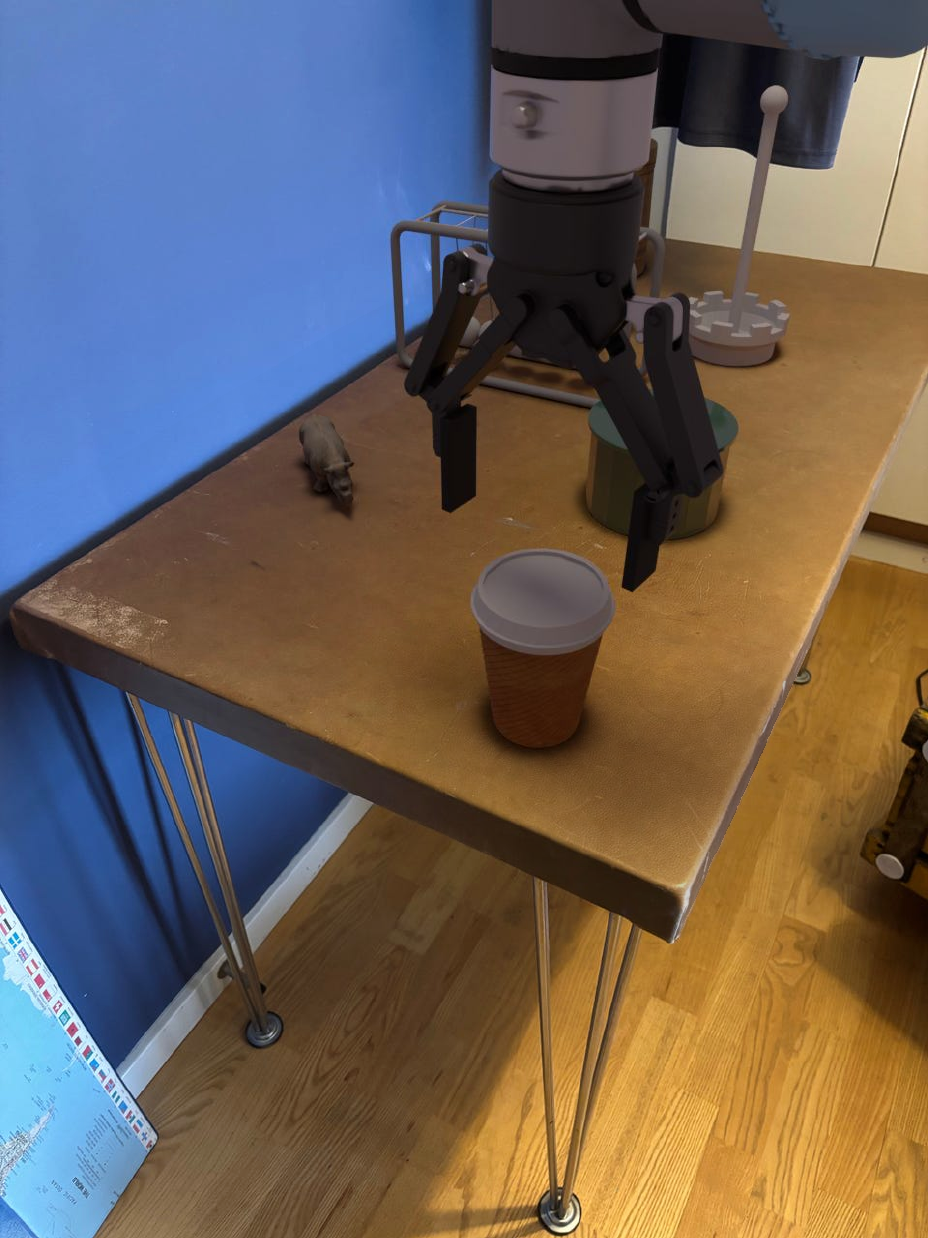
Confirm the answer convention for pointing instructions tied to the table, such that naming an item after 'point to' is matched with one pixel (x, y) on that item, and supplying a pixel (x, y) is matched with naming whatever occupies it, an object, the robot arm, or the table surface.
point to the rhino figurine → (327, 456)
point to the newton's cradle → (474, 327)
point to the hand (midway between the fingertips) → (543, 539)
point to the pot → (619, 479)
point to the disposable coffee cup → (540, 640)
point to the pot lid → (605, 428)
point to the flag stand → (743, 279)
